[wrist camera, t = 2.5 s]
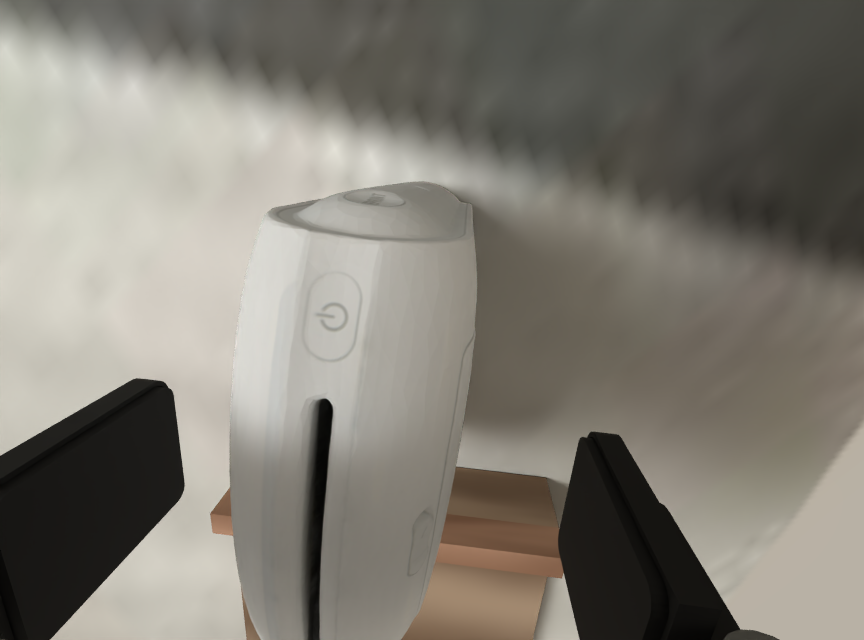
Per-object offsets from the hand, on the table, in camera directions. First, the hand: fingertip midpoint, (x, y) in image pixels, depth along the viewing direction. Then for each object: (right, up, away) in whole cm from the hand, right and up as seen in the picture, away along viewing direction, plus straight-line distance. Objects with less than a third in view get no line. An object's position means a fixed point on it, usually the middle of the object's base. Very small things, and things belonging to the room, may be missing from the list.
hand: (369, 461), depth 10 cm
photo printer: (+1, +4, +8) cm, 9 cm away
